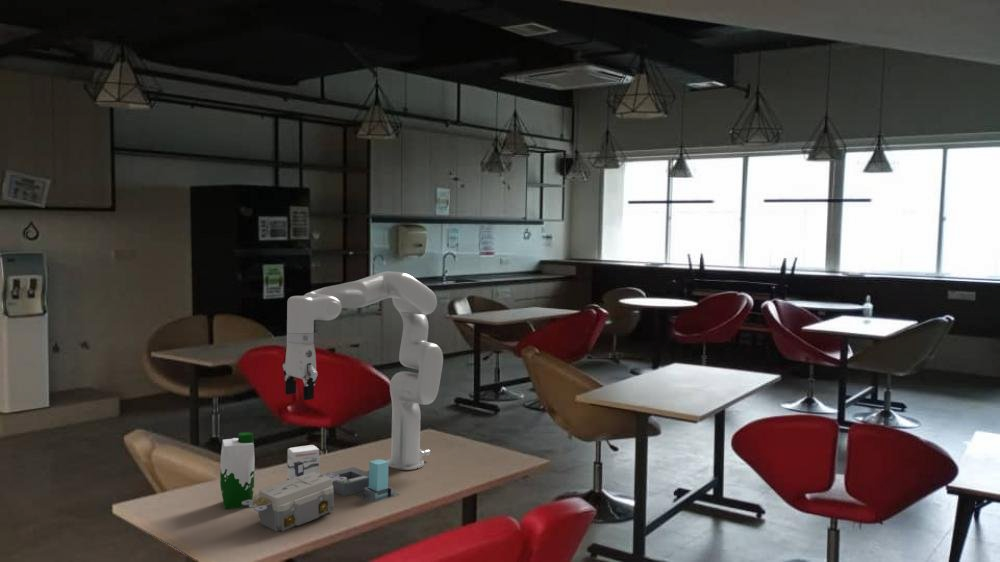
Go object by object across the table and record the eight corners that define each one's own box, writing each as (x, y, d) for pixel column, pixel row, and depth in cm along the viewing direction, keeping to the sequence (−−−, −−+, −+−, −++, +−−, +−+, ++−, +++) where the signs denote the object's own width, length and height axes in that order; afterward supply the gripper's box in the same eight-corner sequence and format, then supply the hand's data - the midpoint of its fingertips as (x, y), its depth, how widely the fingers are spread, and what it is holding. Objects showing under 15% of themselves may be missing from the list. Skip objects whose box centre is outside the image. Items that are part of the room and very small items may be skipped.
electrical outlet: (353, 508, 213) (351, 474, 212) (263, 544, 192) (261, 506, 190) (327, 498, 221) (326, 464, 219) (238, 531, 199) (236, 495, 198)
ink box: (291, 490, 228) (292, 452, 227) (286, 485, 232) (287, 447, 231) (319, 486, 233) (319, 448, 232) (313, 481, 237) (314, 444, 236)
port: (353, 479, 240) (353, 465, 239) (376, 488, 231) (376, 474, 231) (320, 487, 231) (320, 473, 231) (343, 497, 223) (343, 482, 222)
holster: (383, 489, 231) (383, 481, 231) (399, 496, 225) (400, 488, 225) (356, 497, 224) (356, 488, 223) (372, 504, 218) (372, 495, 218)
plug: (379, 491, 227) (380, 458, 227) (388, 495, 225) (388, 461, 224) (368, 494, 224) (369, 461, 224) (376, 498, 222) (377, 464, 221)
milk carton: (255, 507, 213) (256, 437, 212) (221, 510, 210) (221, 439, 209) (252, 496, 221) (253, 429, 220) (219, 500, 218) (219, 431, 217)
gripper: (327, 341, 218) (326, 400, 219) (296, 334, 230) (295, 390, 231) (304, 343, 212) (303, 403, 213) (273, 336, 224) (272, 393, 225)
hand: (299, 396), depth 222 cm, fingers open, 9 cm apart
